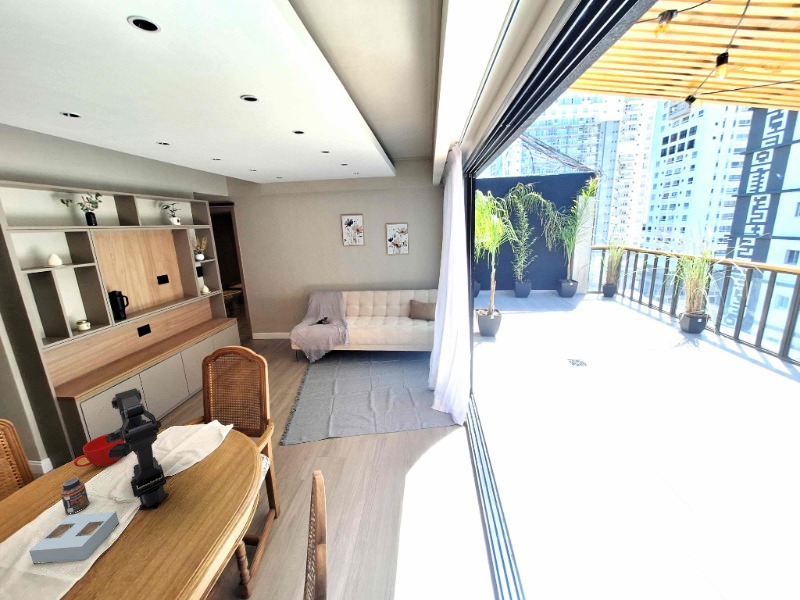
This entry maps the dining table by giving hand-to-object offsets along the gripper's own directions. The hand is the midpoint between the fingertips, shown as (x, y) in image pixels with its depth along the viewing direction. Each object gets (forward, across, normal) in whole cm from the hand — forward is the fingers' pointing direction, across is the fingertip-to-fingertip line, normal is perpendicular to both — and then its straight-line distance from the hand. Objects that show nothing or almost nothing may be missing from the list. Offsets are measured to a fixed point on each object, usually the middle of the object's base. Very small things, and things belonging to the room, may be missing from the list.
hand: (141, 456), depth 118 cm
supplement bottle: (+12, +10, -17) cm, 23 cm away
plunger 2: (+12, +24, +1) cm, 27 cm away
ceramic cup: (+12, -13, -28) cm, 33 cm away
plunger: (+12, +24, -8) cm, 28 cm away
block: (+12, +24, -4) cm, 27 cm away
